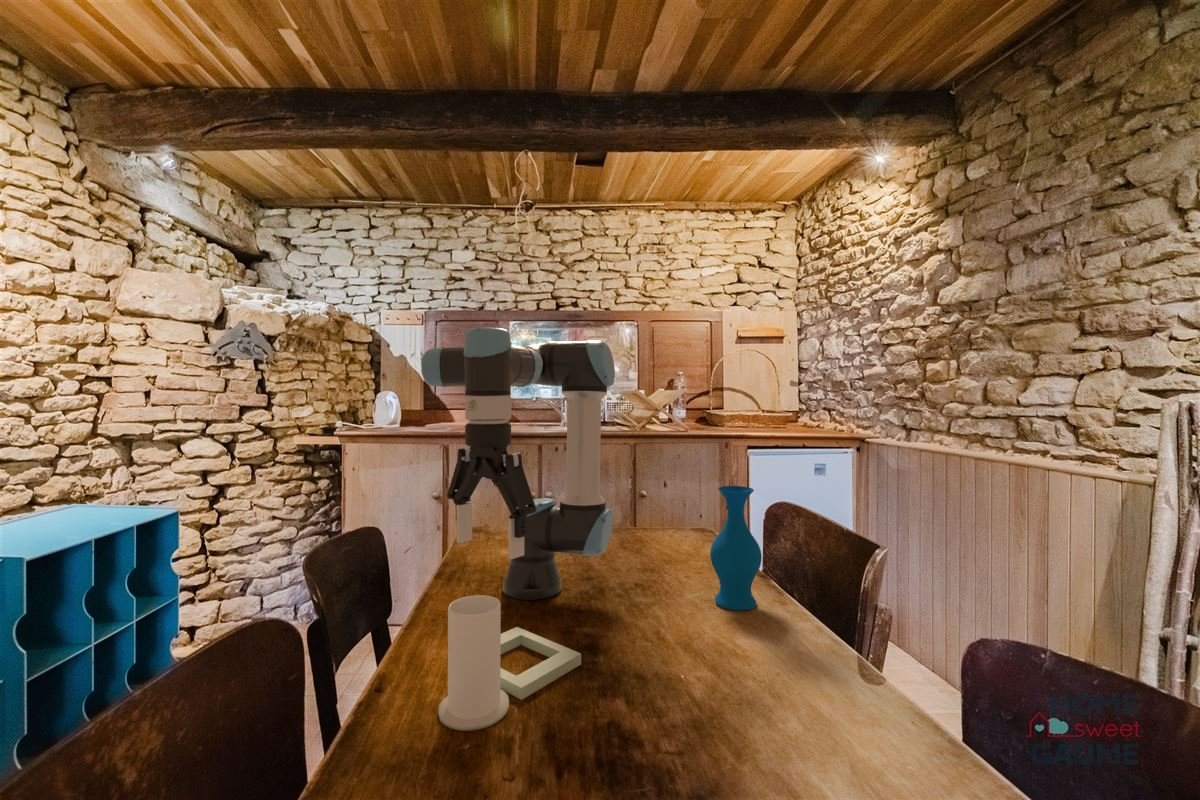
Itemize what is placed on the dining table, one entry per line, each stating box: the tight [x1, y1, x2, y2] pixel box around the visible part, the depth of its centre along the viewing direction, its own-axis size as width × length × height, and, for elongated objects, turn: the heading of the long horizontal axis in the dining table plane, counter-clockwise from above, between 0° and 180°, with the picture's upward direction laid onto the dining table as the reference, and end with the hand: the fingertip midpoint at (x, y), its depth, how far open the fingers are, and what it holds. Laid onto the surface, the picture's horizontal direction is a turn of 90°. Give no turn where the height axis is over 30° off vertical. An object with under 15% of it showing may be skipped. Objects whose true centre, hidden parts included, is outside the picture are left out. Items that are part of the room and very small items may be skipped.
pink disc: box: [438, 689, 510, 732], centre depth 84 cm, size 11×11×1 cm
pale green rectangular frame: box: [500, 626, 582, 701], centre depth 98 cm, size 18×15×2 cm
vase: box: [709, 485, 763, 612], centre depth 127 cm, size 12×13×28 cm
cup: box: [447, 594, 502, 719], centre depth 84 cm, size 8×8×16 cm
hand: (489, 548), depth 87 cm, fingers open, 13 cm apart
